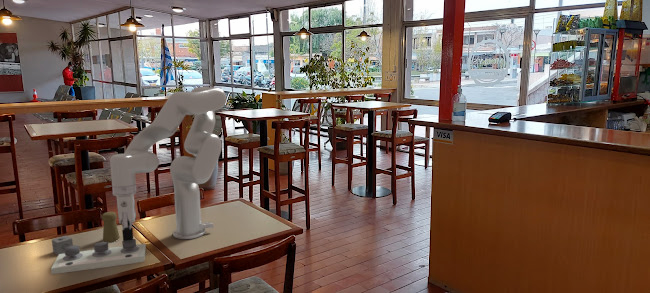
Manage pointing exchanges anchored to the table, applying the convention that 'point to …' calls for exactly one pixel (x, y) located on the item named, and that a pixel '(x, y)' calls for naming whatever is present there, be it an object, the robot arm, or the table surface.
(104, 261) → the button board
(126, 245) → the button
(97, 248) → the middle button
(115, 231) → the cork
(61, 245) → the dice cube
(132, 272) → the table surface
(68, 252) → the button
